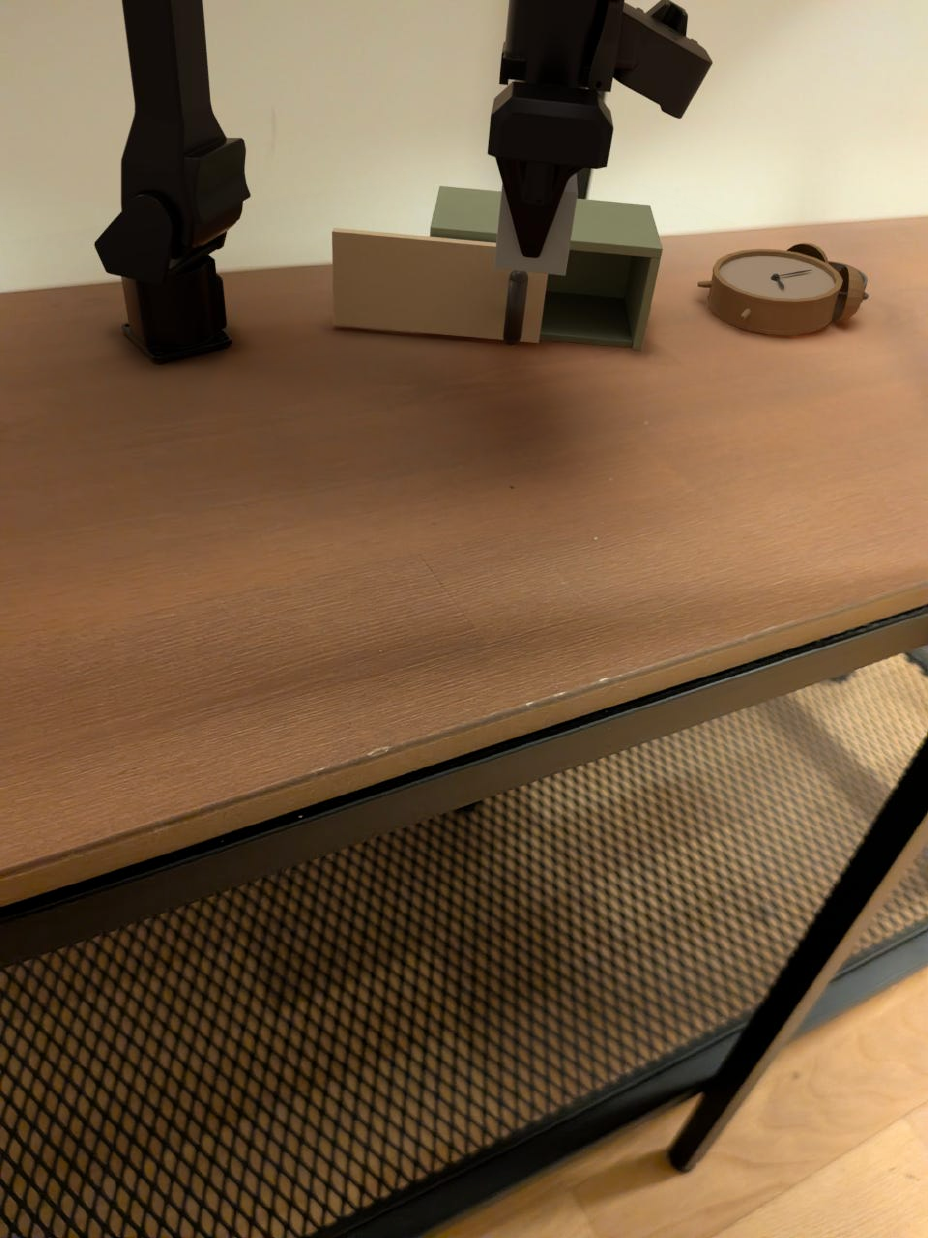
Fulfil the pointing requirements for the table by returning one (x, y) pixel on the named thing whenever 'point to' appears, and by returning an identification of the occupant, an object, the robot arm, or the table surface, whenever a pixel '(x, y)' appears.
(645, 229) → the cabinet
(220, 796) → the table surface
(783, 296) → the alarm clock
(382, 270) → the door
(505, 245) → the block
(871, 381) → the table surface
